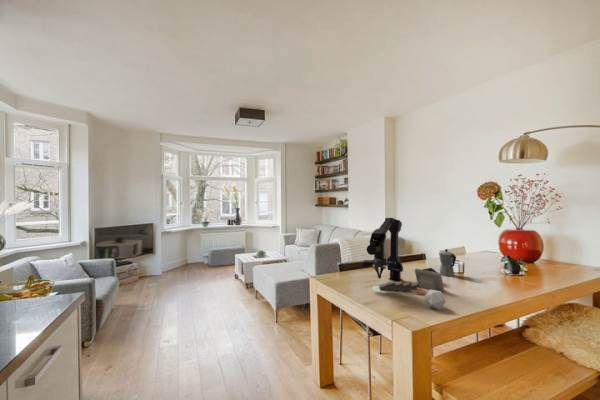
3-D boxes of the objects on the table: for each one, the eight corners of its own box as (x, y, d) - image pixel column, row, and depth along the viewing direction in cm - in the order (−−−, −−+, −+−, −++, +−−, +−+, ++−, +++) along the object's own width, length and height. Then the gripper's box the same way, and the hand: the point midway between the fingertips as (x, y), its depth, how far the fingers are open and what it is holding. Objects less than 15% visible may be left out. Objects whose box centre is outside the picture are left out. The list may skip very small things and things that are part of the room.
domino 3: (395, 288, 161) (410, 284, 159) (395, 291, 156) (411, 286, 154) (394, 286, 161) (409, 281, 159) (394, 288, 157) (410, 284, 154)
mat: (415, 289, 160) (414, 289, 160) (416, 295, 151) (416, 294, 151) (372, 286, 168) (372, 285, 168) (371, 291, 158) (371, 290, 158)
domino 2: (388, 288, 163) (402, 283, 160) (388, 290, 158) (403, 286, 155) (386, 285, 163) (401, 281, 160) (386, 288, 158) (402, 283, 155)
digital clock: (445, 291, 157) (445, 272, 157) (434, 293, 153) (434, 274, 153) (422, 283, 171) (422, 266, 171) (412, 285, 168) (411, 268, 168)
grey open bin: (416, 278, 184) (414, 264, 184) (438, 278, 180) (436, 263, 179) (417, 286, 172) (416, 270, 171) (441, 286, 167) (440, 270, 167)
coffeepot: (434, 272, 195) (434, 247, 196) (446, 271, 197) (445, 247, 197) (449, 278, 180) (449, 251, 180) (462, 277, 182) (461, 251, 182)
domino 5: (411, 289, 158) (427, 292, 156) (411, 292, 154) (429, 295, 151) (411, 287, 158) (428, 289, 156) (411, 289, 154) (429, 292, 151)
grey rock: (423, 304, 139) (419, 292, 135) (437, 295, 140) (433, 282, 136) (435, 316, 132) (431, 303, 127) (450, 306, 132) (447, 293, 128)
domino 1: (380, 287, 164) (395, 283, 161) (380, 290, 159) (395, 285, 157) (379, 285, 164) (393, 280, 161) (379, 287, 159) (393, 283, 157)
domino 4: (403, 289, 160) (418, 284, 157) (404, 292, 155) (419, 286, 152) (402, 286, 160) (417, 281, 157) (403, 289, 155) (418, 284, 153)
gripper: (361, 254, 157) (362, 281, 157) (395, 255, 151) (396, 283, 151) (363, 250, 168) (363, 275, 168) (395, 252, 162) (396, 278, 162)
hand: (379, 278), depth 162 cm, fingers closed
